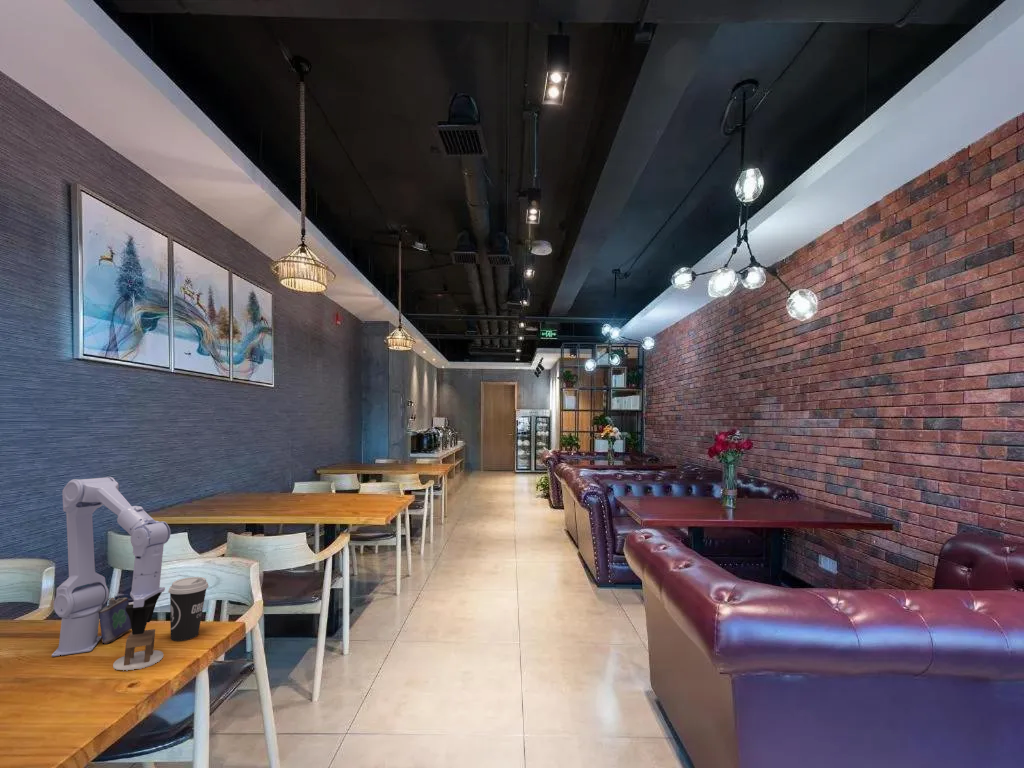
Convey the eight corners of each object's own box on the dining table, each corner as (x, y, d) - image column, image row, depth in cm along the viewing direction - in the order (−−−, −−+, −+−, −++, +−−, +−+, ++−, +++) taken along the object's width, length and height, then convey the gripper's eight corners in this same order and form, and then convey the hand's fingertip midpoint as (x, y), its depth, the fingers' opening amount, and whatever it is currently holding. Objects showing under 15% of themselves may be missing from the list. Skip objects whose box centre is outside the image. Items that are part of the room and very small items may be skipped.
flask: (109, 643, 130) (103, 603, 131) (98, 645, 130) (92, 605, 130) (134, 627, 140) (129, 590, 140) (124, 629, 139) (119, 591, 140)
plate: (119, 656, 124) (119, 654, 124) (166, 649, 128) (166, 647, 128) (107, 674, 115) (107, 671, 115) (159, 666, 119) (159, 663, 119)
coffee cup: (184, 645, 131) (189, 587, 132) (154, 641, 133) (160, 584, 134) (212, 631, 140) (217, 577, 142) (184, 627, 142) (189, 574, 144)
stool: (128, 657, 122) (131, 632, 123) (153, 653, 125) (155, 628, 125) (123, 665, 118) (126, 639, 118) (148, 661, 120) (151, 636, 121)
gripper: (160, 578, 119) (155, 636, 118) (171, 563, 132) (166, 615, 130) (125, 581, 116) (118, 641, 114) (139, 565, 129) (133, 619, 127)
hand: (141, 627), depth 122 cm, fingers open, 7 cm apart
